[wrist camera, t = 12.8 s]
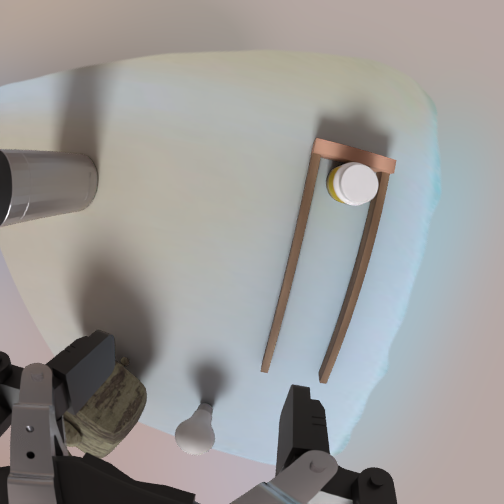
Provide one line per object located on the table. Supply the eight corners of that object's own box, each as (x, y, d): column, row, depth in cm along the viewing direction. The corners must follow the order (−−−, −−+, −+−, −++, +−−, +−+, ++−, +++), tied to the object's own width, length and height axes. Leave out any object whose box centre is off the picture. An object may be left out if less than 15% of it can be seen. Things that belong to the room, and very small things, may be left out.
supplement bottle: (335, 208, 37) (348, 214, 28) (319, 174, 36) (328, 171, 28) (367, 193, 36) (389, 196, 27) (352, 159, 35) (370, 153, 27)
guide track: (262, 362, 42) (259, 377, 39) (313, 142, 35) (316, 137, 31) (324, 374, 42) (327, 389, 38) (385, 162, 34) (396, 160, 30)
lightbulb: (219, 392, 45) (203, 438, 34) (227, 417, 46) (214, 463, 35) (185, 392, 46) (164, 435, 35) (195, 417, 47) (177, 460, 36)
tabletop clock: (85, 353, 47) (2, 430, 23) (100, 323, 45) (1, 404, 21) (145, 402, 48) (83, 499, 23) (166, 377, 45) (97, 488, 21)
